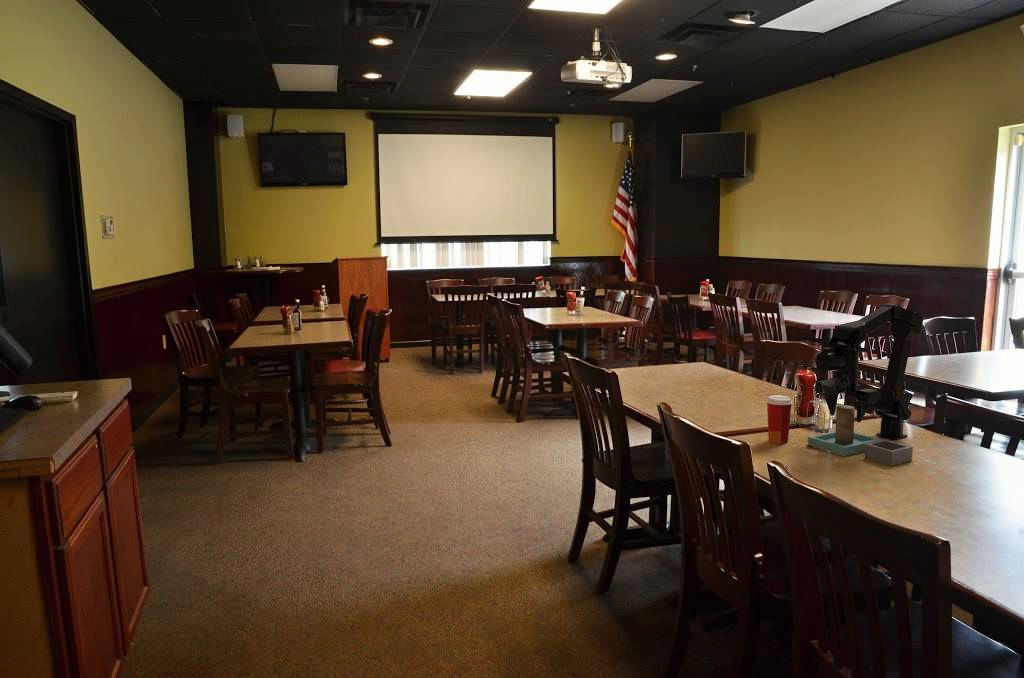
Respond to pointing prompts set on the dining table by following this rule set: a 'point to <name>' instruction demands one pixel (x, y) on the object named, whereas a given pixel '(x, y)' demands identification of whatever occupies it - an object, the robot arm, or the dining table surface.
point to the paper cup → (778, 418)
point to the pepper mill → (844, 425)
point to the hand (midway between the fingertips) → (845, 418)
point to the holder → (888, 452)
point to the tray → (828, 444)
